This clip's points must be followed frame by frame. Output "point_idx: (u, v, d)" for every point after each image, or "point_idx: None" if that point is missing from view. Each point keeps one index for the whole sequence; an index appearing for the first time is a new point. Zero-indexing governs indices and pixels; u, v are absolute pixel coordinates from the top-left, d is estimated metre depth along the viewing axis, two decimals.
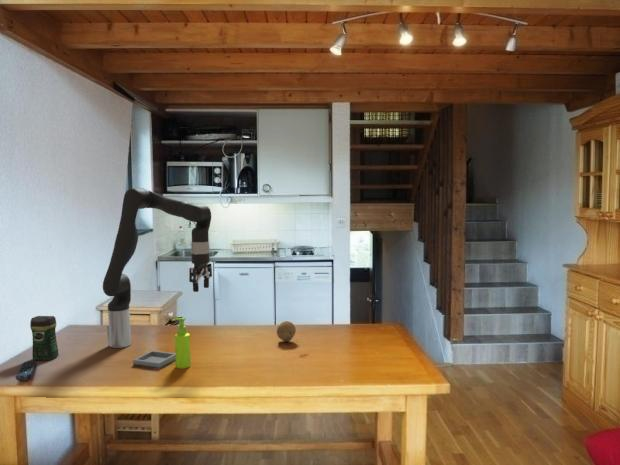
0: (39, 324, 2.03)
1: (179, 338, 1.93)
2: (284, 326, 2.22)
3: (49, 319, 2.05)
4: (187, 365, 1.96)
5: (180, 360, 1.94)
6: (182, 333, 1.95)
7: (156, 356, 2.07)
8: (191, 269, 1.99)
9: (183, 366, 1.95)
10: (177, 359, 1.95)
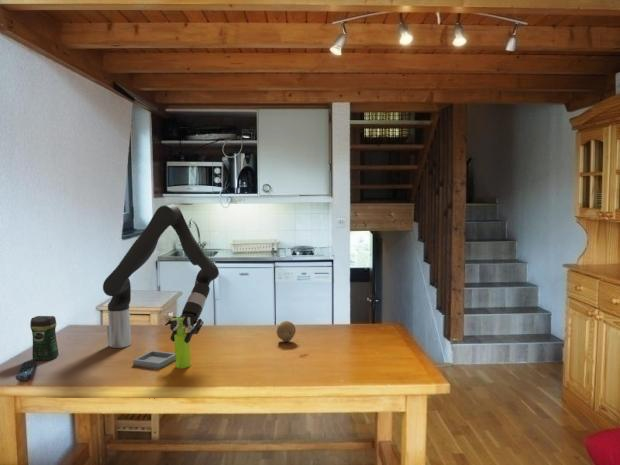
0: (39, 324, 2.03)
1: (178, 338, 1.93)
2: (284, 326, 2.22)
3: (49, 319, 2.05)
4: (187, 365, 1.96)
5: (180, 360, 1.94)
6: (181, 333, 1.95)
7: (156, 356, 2.07)
8: (201, 321, 1.98)
9: (183, 366, 1.95)
10: (177, 359, 1.95)
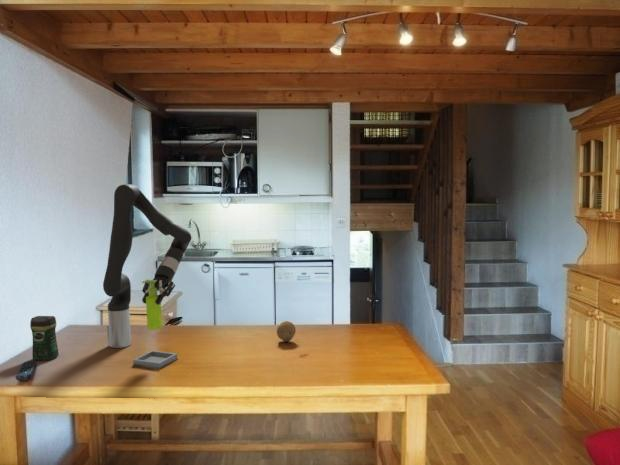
0: (39, 324, 2.03)
1: (150, 299, 1.97)
2: (284, 326, 2.22)
3: (49, 319, 2.05)
4: (158, 326, 1.99)
5: (151, 321, 1.98)
6: (152, 295, 1.98)
7: (156, 356, 2.07)
8: (173, 284, 2.01)
9: (154, 327, 1.98)
10: (148, 320, 1.98)
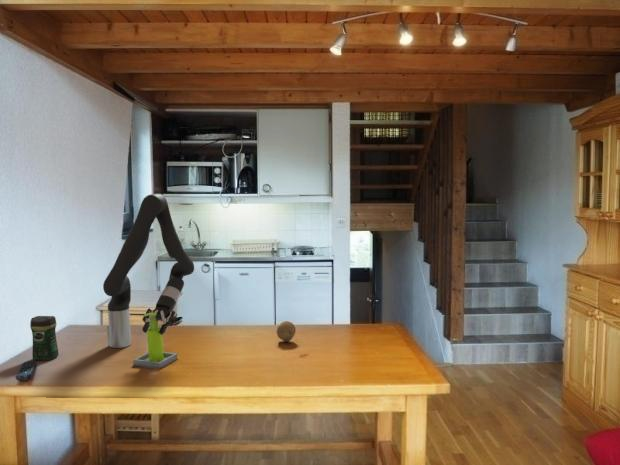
0: (39, 324, 2.03)
1: (151, 333, 1.98)
2: (284, 326, 2.22)
3: (49, 319, 2.05)
4: (160, 359, 2.00)
5: (153, 354, 1.99)
6: (154, 328, 1.99)
7: None
8: (175, 313, 2.03)
9: (156, 360, 1.99)
10: (150, 353, 1.99)
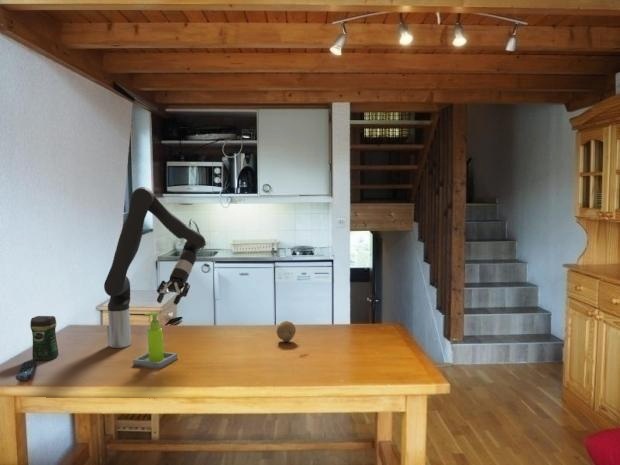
0: (39, 324, 2.03)
1: (152, 333, 1.98)
2: (284, 326, 2.22)
3: (49, 319, 2.05)
4: (160, 359, 2.00)
5: (153, 354, 1.99)
6: (154, 328, 1.99)
7: None
8: (188, 284, 2.11)
9: (156, 360, 1.99)
10: (150, 353, 2.00)
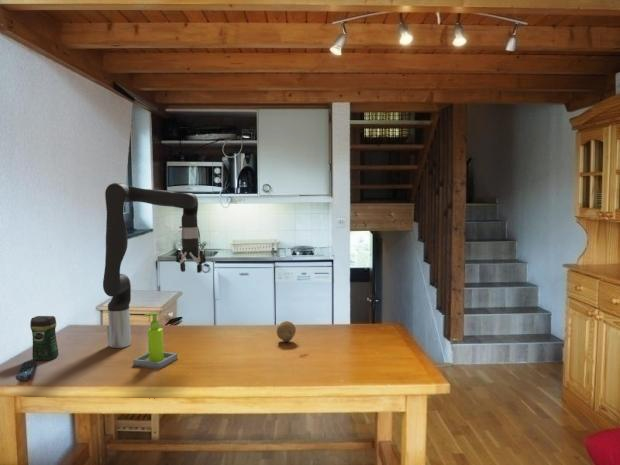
0: (39, 324, 2.03)
1: (152, 333, 1.98)
2: (284, 326, 2.22)
3: (49, 319, 2.05)
4: (160, 359, 2.00)
5: (153, 354, 1.99)
6: (154, 328, 1.99)
7: None
8: (202, 251, 2.18)
9: (156, 360, 1.99)
10: (150, 353, 2.00)
